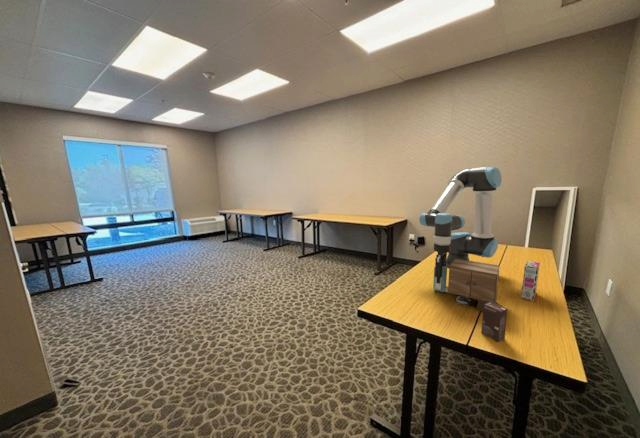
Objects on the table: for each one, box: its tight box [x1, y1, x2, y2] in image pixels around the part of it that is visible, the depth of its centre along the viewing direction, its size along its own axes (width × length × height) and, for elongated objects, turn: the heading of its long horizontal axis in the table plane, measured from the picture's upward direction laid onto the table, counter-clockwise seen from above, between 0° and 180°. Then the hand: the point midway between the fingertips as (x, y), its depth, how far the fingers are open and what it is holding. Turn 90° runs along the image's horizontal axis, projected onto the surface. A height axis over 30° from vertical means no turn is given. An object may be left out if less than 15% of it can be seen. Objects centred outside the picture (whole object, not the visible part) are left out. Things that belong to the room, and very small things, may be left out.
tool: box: [432, 266, 448, 293], centre depth 122 cm, size 5×18×12 cm, turn 51°
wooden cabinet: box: [447, 259, 500, 313], centre depth 113 cm, size 15×18×18 cm
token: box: [455, 295, 472, 307], centre depth 114 cm, size 6×6×2 cm
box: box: [481, 302, 509, 343], centre depth 88 cm, size 6×4×12 cm
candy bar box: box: [520, 260, 541, 302], centre depth 119 cm, size 11×5×16 cm, turn 135°
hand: (439, 286), depth 127 cm, fingers closed on tool, 5 cm apart
